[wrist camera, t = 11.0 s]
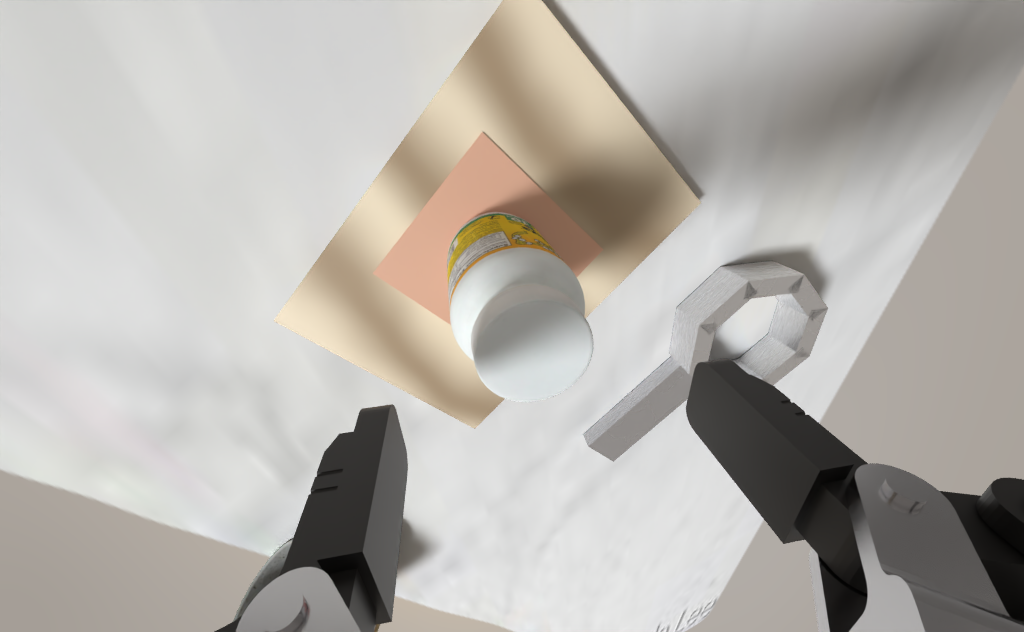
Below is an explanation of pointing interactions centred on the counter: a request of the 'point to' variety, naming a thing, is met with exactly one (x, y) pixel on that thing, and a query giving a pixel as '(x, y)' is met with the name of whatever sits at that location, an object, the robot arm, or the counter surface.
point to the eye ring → (693, 342)
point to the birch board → (488, 206)
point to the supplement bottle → (516, 309)
